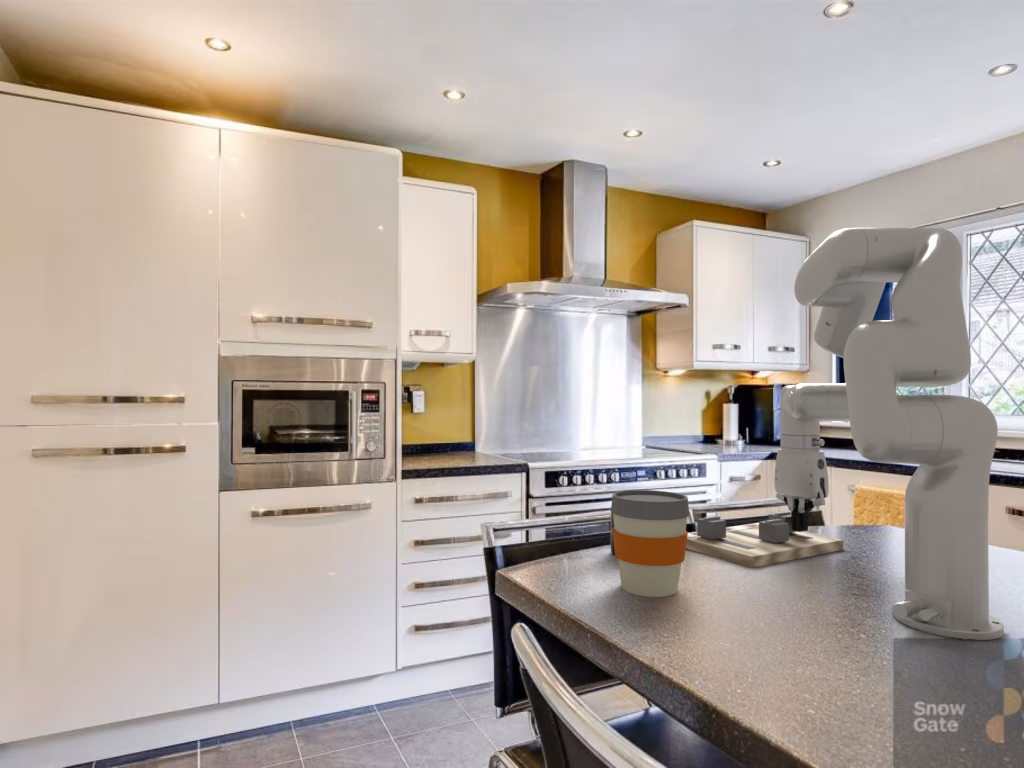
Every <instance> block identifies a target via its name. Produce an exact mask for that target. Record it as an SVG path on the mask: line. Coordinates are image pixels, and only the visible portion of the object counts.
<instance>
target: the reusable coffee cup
mask: <svg viewBox="0 0 1024 768" xmlns="http://www.w3.org/2000/svg"><path fill="white" fill-rule="evenodd" d="M611 512H612V513H613V519H614V527H613V528H612V532H613V540H614V549H615V556H614V557H616V559H617V560H618V567H619V577H620V584H621V585H620V586H621V588H622V590H623V591H625V592H627V593H629V594H632V595H635V596H636V595H637V596H640V597H649V598H660V597H661V598H663V597H669V596H673V595H675V594H677V593H678V591H679V583H680V574H681V567H682V563H683V562H684V561H685V557H686V549H687V548H686V543H687V536H688V533H689V532H688V531H687V530H686V529H687V523H688V517H690V507H689V498H688V496H687V495H685V494H682V493H678V492H672V491H664V490H663V491H662V490H650V489H649V490H648V489H634V490H633V489H632V490H621V491H620V490H619V491H615V492H614V493H612V499H611V506H610V513H611Z"/></svg>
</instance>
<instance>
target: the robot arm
mask: <svg viewBox="0 0 1024 768" xmlns="http://www.w3.org/2000/svg"><path fill="white" fill-rule="evenodd" d="M962 268H963V251H962V245H961V243H960V240H959V238H957V237H956V235H955V234H954V233H953V232H951V231H950V230H948V229H945V228H942V227H941V228H940V227H849V228H842V229H839V230H836V231H834V232H833V233H831V234H830V235H829V236H828V237H826V239H824V241H823V242H821V244H819V245H818V246H817V248H816V249H815V250H814V251H813V252H812V253H811V254H809V255H808V257H807V258H806V259H805V260H804V261H803V263H802V265H801V266H800V268H799V270H798V272H797V274H796V277H795V280H794V287H793V288H794V289H793V290H794V296H795V297H794V298H795V299H796V300H797V302H798V303H799V304H800V305H802V306H805V307H813V308H814V307H818V308H819V307H822V308H821V311H820V313H819V317H818V319H817V322H816V323H817V324H816V327H815V329H814V332H813V339H814V340H813V341H815V343H816V344H817V345H818V346H819V347H820V348H822V349H823V350H825V351H826V352H828V353H829V354H833V355H835V356H838V357H839V358H842V359H843V372H844V373H843V374H844V381H845V382H844V383H843V382H842V383H840V382H839V383H836V382H834V383H831V382H830V383H829V382H828V383H826V382H825V383H824V382H822V383H821V382H820V383H816V382H815V383H797V384H792V385H790V384H789V385H784V386H783V387H782V388H781V390H780V448H778V450H777V454H776V457H775V458H776V459H775V464H774V465H775V466H774V480H773V481H774V491H775V493H776V495H775V498H776V499H777V500H780V501H782V502H784V503H785V504H786V506H787V508H788V510H789V511H788V512H791V524H792V530H793V531H797V532H803V531H804V532H808V530H809V526H810V525H809V524H810V522H809V521H810V514H809V513H811V512H812V511H813V509H814V508H815V507H821V506H826V500H825V498H828V497H829V492H830V488H829V487H830V485H829V484H830V483H829V473H828V472H829V471H828V465H827V461H826V455H825V453H824V452H825V451H823V450H820V449H821V447H823V446H824V445H825V443H826V442H825V440H824V439H821V436H820V435H821V434H820V424H821V423H820V422H826V421H827V422H828V421H829V422H849V425H850V431H851V437H852V441H853V445H854V447H855V448H856V450H857V452H858V453H859V455H860V456H862V458H864V459H866V460H868V461H870V462H874V463H881V464H919V465H918V466H917V468H916V470H915V471H914V473H913V474H912V476H911V478H910V479H909V481H908V483H907V486H906V488H905V492H904V493H905V494H904V600H903V601H897V602H896V603H895V604H893V605H892V608H891V612H892V613H891V614H892V616H893V617H894V618H895V619H896V620H897V621H898V622H900V623H902V624H904V625H905V626H908V627H910V628H912V629H916V630H919V631H922V632H925V633H929V634H931V635H932V634H933V635H936V636H940V635H941V637H946V636H949V637H948V638H951V637H955V638H954V639H958V638H962V639H961V640H967V639H975V640H974V641H988V640H989V641H991V640H996V639H999V638H1001V637H1003V635H1004V634H1005V626H1004V624H1003V623H1002V622H1001V621H1000V620H999V619H997V618H996V617H994V616H992V615H990V596H989V595H990V594H989V593H990V591H989V589H990V587H989V585H990V584H989V583H990V581H989V580H990V579H989V575H990V574H989V573H990V572H989V568H990V566H989V560H990V559H989V495H990V494H989V493H990V491H989V488H990V475H991V467H992V463H993V459H994V454H995V450H996V446H997V441H998V433H999V429H998V422H997V419H996V416H995V414H994V413H993V412H992V410H991V409H990V408H989V407H988V406H987V405H986V404H984V403H983V402H981V401H979V400H977V399H975V398H972V397H968V396H963V395H955V394H954V395H953V394H897V388H928V387H929V388H933V387H935V388H937V387H947V386H952V385H956V384H958V383H960V382H962V381H963V380H964V379H966V378H967V376H968V374H969V372H970V369H971V366H972V364H971V363H972V357H971V345H970V340H969V334H968V328H967V321H966V316H965V310H964V308H965V307H964V302H963V299H962V293H961V277H962V276H961V275H962ZM887 283H897V284H896V285H895V287H894V289H893V291H892V293H891V294H892V295H891V309H892V317H893V320H888V319H887V320H884V319H883V320H881V319H880V320H874V317H875V314H876V312H877V310H878V306H879V304H880V301H881V298H882V295H883V294H884V293H883V292H884V290H885V288H886V287H885V286H886V284H887Z"/></svg>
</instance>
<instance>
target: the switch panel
mask: <svg viewBox="0 0 1024 768" xmlns="http://www.w3.org/2000/svg"><path fill="white" fill-rule="evenodd" d="M687 533H688V536H687V543H686V549H688V550H690V551H693V550H694V552H697V553H700V554H704V555H708V556H710V557H711V556H712V557H714V558H718V559H720V560H721V559H722V560H725V561H727V562H728V561H729V562H731V563H735V564H738V565H742V566H746V567H748V568H749V567H750V568H751V569H752V568H757V567H762V566H767V565H773V564H778V563H782V562H787V561H792V560H793V561H794V560H798V559H802V558H807V557H813V556H818V555H819V556H820V555H823V554H828V553H832V552H834V553H835V552H839V551H843V550H844V539H842V538H837V537H831V536H828V535H821V534H819V533H818V534H817V533H812V532H808V531H803V532H793V533H789V541H785V542H779V543H773V542H769V541H765V540H761V539H759V522H754V523H747V524H740V525H734V526H726V538H720V539H714V540H711V539H708V538H704V537H700V536H697V531H692V532H687Z"/></svg>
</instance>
